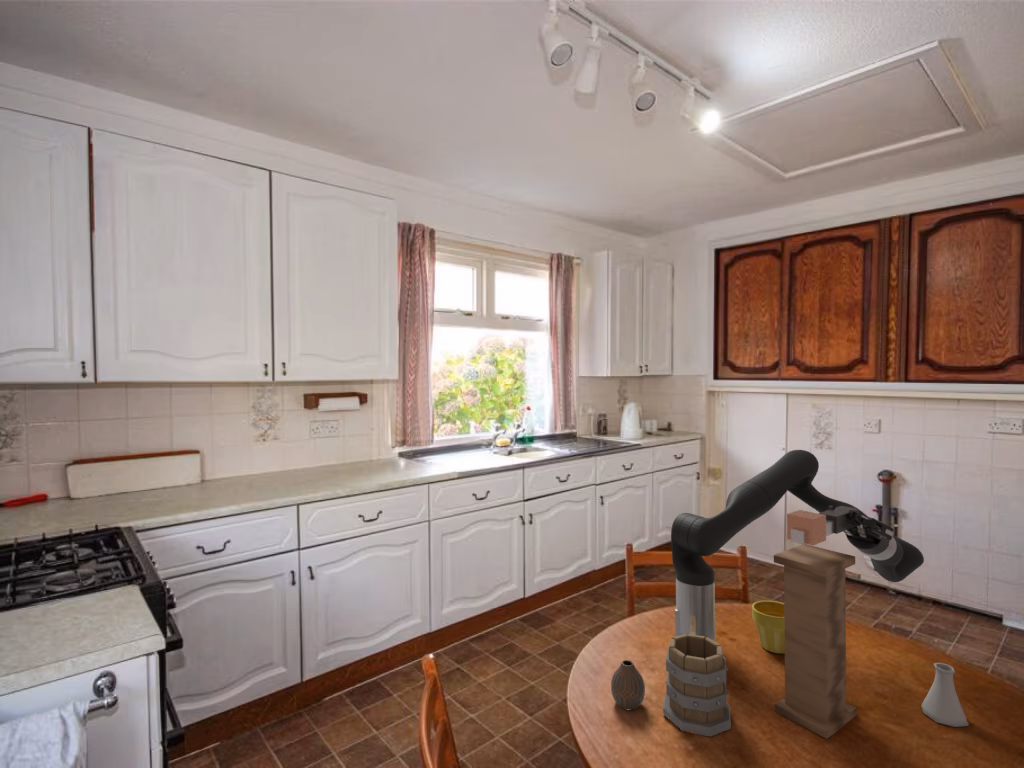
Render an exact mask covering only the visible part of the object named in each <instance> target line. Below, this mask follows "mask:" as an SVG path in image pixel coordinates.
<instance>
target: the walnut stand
mask: <svg viewBox="0 0 1024 768" xmlns="http://www.w3.org/2000/svg"><path fill="white" fill-rule="evenodd" d="M773 563H774V564H778V565H781V566H783V590H784V591H783V592H784V593H783V596H784V597H783V599H784V601H783V603H784V627H785V653H784V695H785V696H784V698H782V699H781V700H779V701H778V702H777V703H775V704H774V712H775V713H777V714H779V715H780V716H781V717H784V718H786V719H788V720H790V721H792V722H794V723H796V724H798V725H799V726H802V727H803V728H805V729H806V730H809V731H810V732H813V733H815V734H816V735H818V736H820V737H822V738H824V739H826V740H828V739H829V738H830V737H832V736H833V735H834V734H836V733H837V732H838V731H839V730H840V729H842V727H844V726H845V725H847V723H849V722H850V721H851V720H852V719H854V718H855V717H856V716H857V707H855V706H854V705H851V704H850V703H847V648H846V647H847V644H846V643H847V639H846V637H847V636H846V635H847V633H846V631H847V630H846V629H847V628H846V627H847V625H846V621H847V620H846V619H847V618H846V615H847V613H846V612H847V611H846V608H847V607H846V606H847V605H846V602H847V601H846V569H848V568H850V567H852V566H854V565H856V556H854V555H851V554H847V553H843V552H840V551H835V550H830V549H827V548H823V547H819V546H815V545H809V544H805V545H803V544H799V545H797V546H794V547H792V548H789V549H785V550H783V551H782V552H778V553H775V554H773Z"/></svg>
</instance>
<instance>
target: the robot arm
mask: <svg viewBox="0 0 1024 768" xmlns="http://www.w3.org/2000/svg"><path fill="white" fill-rule="evenodd" d="M819 467H820V466H819V460H818V458H817V457H816V456H815V454H813V453H812V452H811V451H808V450H806V449H805V450H804V449H793V450H790V451H788V452H786V453H784V454H783V455H782V456H781V457H780V458H779V459H778V460H777V461H775V463H774V464H771V466H769V467H768V468H766V469H764V470H763V471H761V472H759V473H758V474H756V475H755V476H753V477H751V478H750V479H748V480H746V481H745V482H743V483H741V484H740V485H738V486H736V487H735V488H733V489H732V490H731V491H730V492H729V494H728V496H727V498H726V501H725V508H724V509H723V510H722V511H721V512H719V513H717V514H716V515H714V516H712V517H704V516H701V515H696V514H694V513H690V512H682V513H680V514H678V515H677V516H676V517H675V518H674V520H673V522H672V524H671V525H672V526H671V531H670V544H671V545H670V546H671V561H672V567H673V569H674V571H675V602H676V603H675V609H674V637H676V636H680V635H683V634H686V635H687V634H690V617H691V616H695V617H696V618H697V635H699V636H705V637H706V638H707V637H708V638H710V639H711V640H713V641H715V642H716V604H715V603H716V602H715V601H716V597H715V595H716V594H715V593H716V591H715V589H716V587H715V583H716V582H715V571H714V568H712V566H711V565H710V564H709V563H708V562H706V560H705V559H704V558H703V557H710V556H712V555H714V554H715V553H716V552H718V551H720V550H721V548H723V547H724V546H725V545H726V544H727V543H728V542H729V541H730V540H731V539H733V538H734V537H735V535H737V534H738V533H739V532H740V531H742V530H743V529H744V528H746V527H747V526H749V525H750V524H751V523H753V522H754V521H756V520H757V519H759V518H761V517H762V516H765V514H767V513H768V512H769V511H771V510H772V509H773V508H774V507H775V506H776V505H777V503H778V502H779V501H780V500H781V499H782V498H783V497H784V496H785V495H786V494H787V492H789V493H790V494H792V495H793V496H794V497H796V498H797V499H799V501H802V502H803V503H804V504H806V505H807V506H809V507H811V508H812V509H814V510H815V511H817V512H818V514H819V513H821V512H824V511H827V510H830V509H834V508H836V507H839V506H845V507H850V508H856V509H859V508H858V507H856V506H854V505H852V504H850V503H849V502H848V503H847V502H844V501H841V500H838V499H835V498H831V497H828V496H826V494H825V495H824V494H823V493H822V492H820V491H819V490H818V489H816V488H815V486H814V485H813V484H812V482H813V481H814V479H815V477H816V476H817V474H818V472H819ZM848 519H849V520H850V521H851V522H852V523H854V524H855V525H857V526H856V527H853V528H851V529H848V530H845V531H843V532H842V533H845V536H846V539H847V541H848V542H849V543H850V544H851V545H852V546H853V547H854V548H856V549H857V550H858V551H860V552H861V553H862V554H863V555H865V556H866V557H868V558H870V560H871V564H872V567H873V568H874V570H875V571H876V572H877V573H878V575H880V577H882V579H884V580H886V581H888V582H891V583H899V582H902V581H904V580H905V579H906V578H907V577H909V576H910V575H911V574H913V572H914V571H917V569H918V568H920V567H921V566H922V565H923V564H924V562H925V558H924V555H923V553H922V551H921V550H920V549H919V548H918V547H916V546H915V545H914V544H912V543H910V542H907V540H904V539H902V538H900V537H898V536H896V535H894V530H895V529H894V527H892V526H889V525H888V524H885V523H883V522H881V521H880V520H878V519H876V518H874V517H869V516H868V515H867V514H866V513H865V512H864V511H862V510H860V509H859V513H857V512H856V511H855V510H852V509H850V510H849V515H848Z"/></svg>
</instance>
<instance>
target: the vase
mask: <svg viewBox="0 0 1024 768" xmlns="http://www.w3.org/2000/svg"><path fill="white" fill-rule="evenodd" d="M610 684H611V685H610V686H611V687H610V688H611V689H610V690H611V695H612V698H613V700H614V702H615V703H616V705H618V706H619V707H620V708H621V707H622V708H621V709H623V708H625V709H634V710H637V708H640V706H641V705H642V703H643V701H644V698H645V693H646V686H645V682H644V679H643V676H642V674H641V673H640V671H639V670H638V669H637V667H636V665H635V664H634V662H633V661H631V660H628V659H624V660H622V661H621V663H620V665H619V667H618V668H617V669H616V670H615V671H614V673H613V675H612V677H611V682H610ZM625 709H624V710H625Z"/></svg>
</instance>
